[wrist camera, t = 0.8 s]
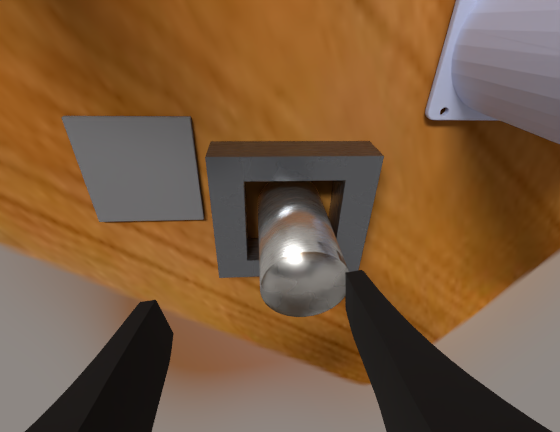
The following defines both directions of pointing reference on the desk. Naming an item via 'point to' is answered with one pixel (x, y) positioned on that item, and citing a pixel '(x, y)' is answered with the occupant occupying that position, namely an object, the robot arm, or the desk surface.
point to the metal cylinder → (298, 251)
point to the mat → (138, 166)
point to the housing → (290, 167)
